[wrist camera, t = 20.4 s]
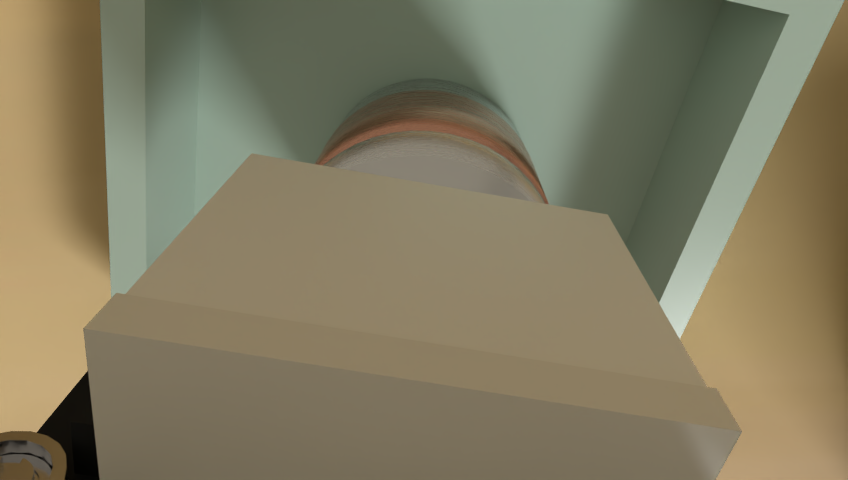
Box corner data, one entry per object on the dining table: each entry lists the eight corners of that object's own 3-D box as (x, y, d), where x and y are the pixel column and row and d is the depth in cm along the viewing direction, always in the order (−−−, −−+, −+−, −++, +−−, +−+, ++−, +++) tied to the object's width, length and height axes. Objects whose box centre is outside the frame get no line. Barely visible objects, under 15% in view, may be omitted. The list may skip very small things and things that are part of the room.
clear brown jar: (338, 55, 17) (278, 121, 11) (557, 102, 18) (619, 193, 11) (311, 251, 20) (251, 391, 14) (500, 288, 21) (524, 441, 14)
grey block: (248, 149, 10) (83, 327, 5) (611, 212, 10) (742, 431, 6) (237, 425, 13) (123, 696, 8) (523, 468, 13) (564, 752, 8)
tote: (182, -168, 16) (91, -204, 12) (757, -34, 17) (856, -25, 13) (173, 325, 23) (115, 407, 19) (578, 399, 24) (604, 493, 20)
